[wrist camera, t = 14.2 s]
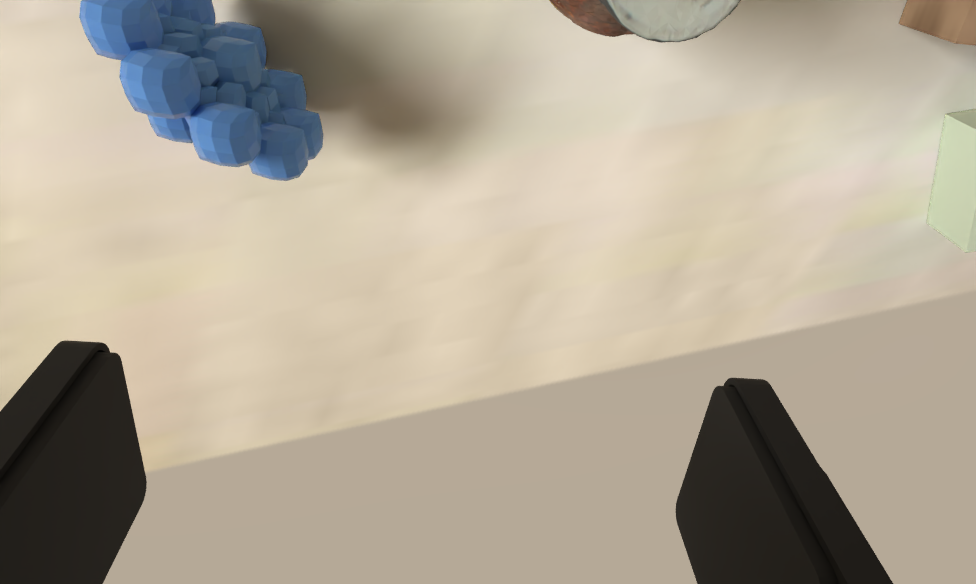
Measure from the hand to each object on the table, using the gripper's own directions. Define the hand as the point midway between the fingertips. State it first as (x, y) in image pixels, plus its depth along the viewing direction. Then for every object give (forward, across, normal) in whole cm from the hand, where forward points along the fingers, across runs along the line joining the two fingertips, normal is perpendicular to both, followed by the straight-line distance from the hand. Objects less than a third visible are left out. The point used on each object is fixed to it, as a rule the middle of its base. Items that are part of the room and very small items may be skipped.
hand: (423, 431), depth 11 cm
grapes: (+31, +11, +2) cm, 32 cm away
